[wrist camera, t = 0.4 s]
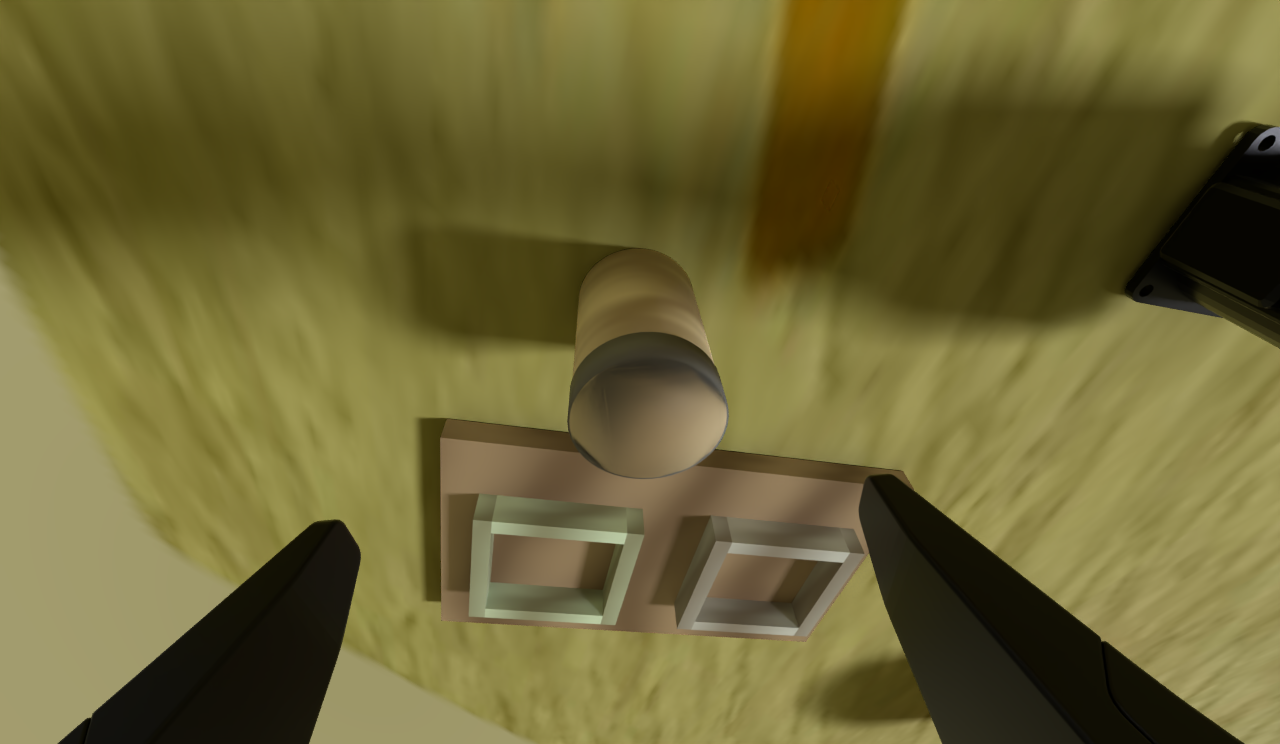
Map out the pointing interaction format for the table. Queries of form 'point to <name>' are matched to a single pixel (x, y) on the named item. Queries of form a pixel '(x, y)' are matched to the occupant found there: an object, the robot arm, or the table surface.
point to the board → (642, 538)
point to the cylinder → (643, 370)
